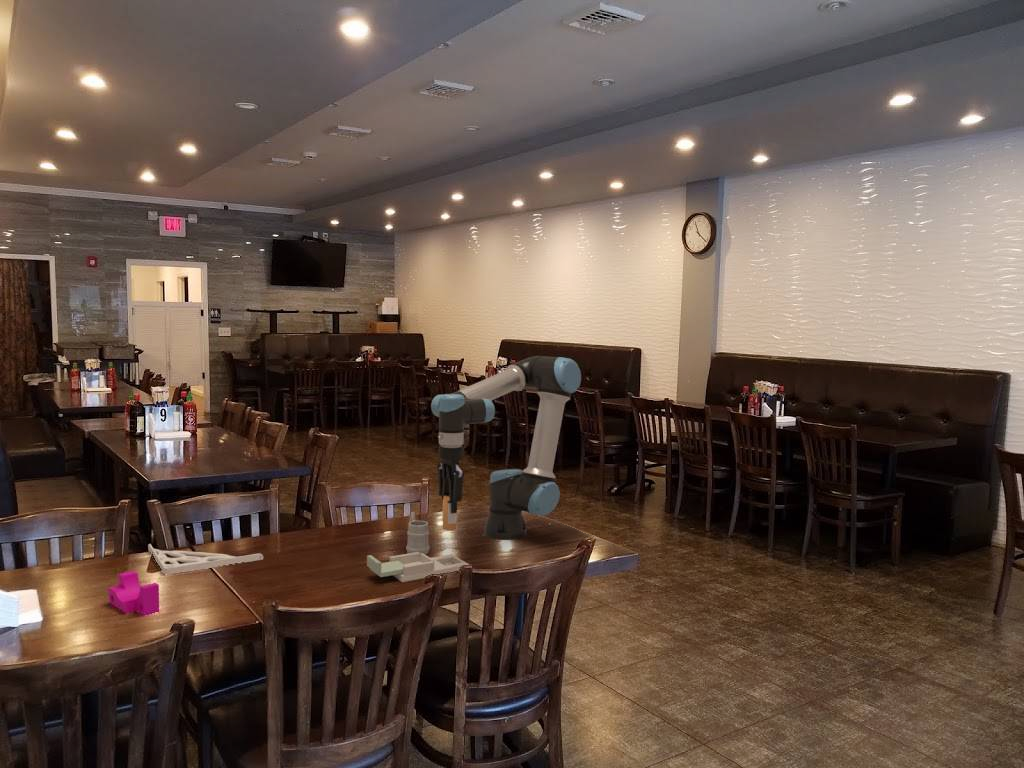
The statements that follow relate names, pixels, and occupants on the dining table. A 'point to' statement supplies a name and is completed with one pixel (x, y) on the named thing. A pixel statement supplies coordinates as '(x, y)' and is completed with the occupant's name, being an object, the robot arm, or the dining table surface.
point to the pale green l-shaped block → (384, 567)
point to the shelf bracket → (196, 560)
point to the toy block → (134, 595)
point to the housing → (425, 565)
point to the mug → (417, 536)
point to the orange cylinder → (445, 515)
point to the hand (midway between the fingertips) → (449, 521)
